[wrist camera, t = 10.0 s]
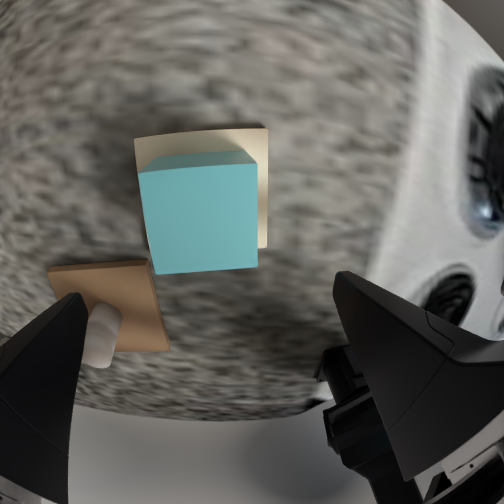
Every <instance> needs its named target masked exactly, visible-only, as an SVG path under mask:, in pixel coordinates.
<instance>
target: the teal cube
mask: <svg viewBox="0 0 504 504" xmlns="http://www.w3.org/2000/svg"><path fill="white" fill-rule="evenodd" d="M138 177H139V184H140V192H141V199H142V205H143V212H144V218H145V224H146V229H147V235H148V240H149V245H150V250H151V255H152V260H153V265H154V269H155V274H156V275H159V274H174V273H187V272H201V271H213V270H226V269H238V268H250V267H258V164H257V162H256V161H255V160H254V159H253V158H252V157H251V156H250V155H249V154H248V153H247V152H246V151H245V150H243V151H221V152H206V153H193V154H182V155H172V156H163V157H156V158H155V159H154V160H153V161H151V162H150V163H149V164H148V165H147V166H146V167H145V168H143V169H142V170H141V171H140V172H139V173H138Z"/></svg>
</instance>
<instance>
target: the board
mask: <svg viewBox="0 0 504 504" xmlns="http://www.w3.org/2000/svg"><path fill="white" fill-rule="evenodd" d="M134 146H135V156H136V165H137V174H138V173H139V172H140V171H141V170H142V169H143V168H145V167H146V166H147V165H148V164H149V163H150V162H151V161H153V160H154V159H155V158H156V157H163V156H172V155H182V154H193V153H206V152H221V151H243V150H245V151H246V152H247V153H248V154H249V155H250V156H251V157H252V158H253V159H254V160H255V161H256V162H257V164H258V248H267V197H268V129H267V128H243V129H219V130H203V131H191V132H180V133H171V134H163V135H155V136H148V137H141V138H135V139H134ZM138 181H139V177H138ZM139 189H140V184H139ZM140 196H141V192H140ZM141 203H142V199H141ZM142 209H143V205H142ZM143 215H144V212H143ZM144 221H145V218H144ZM145 227H146V224H145ZM146 232H147V229H146ZM147 238H148V235H147ZM148 243H149V240H148ZM149 248H150V245H149ZM150 253H151V250H150ZM151 257H152V255H151Z"/></svg>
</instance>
